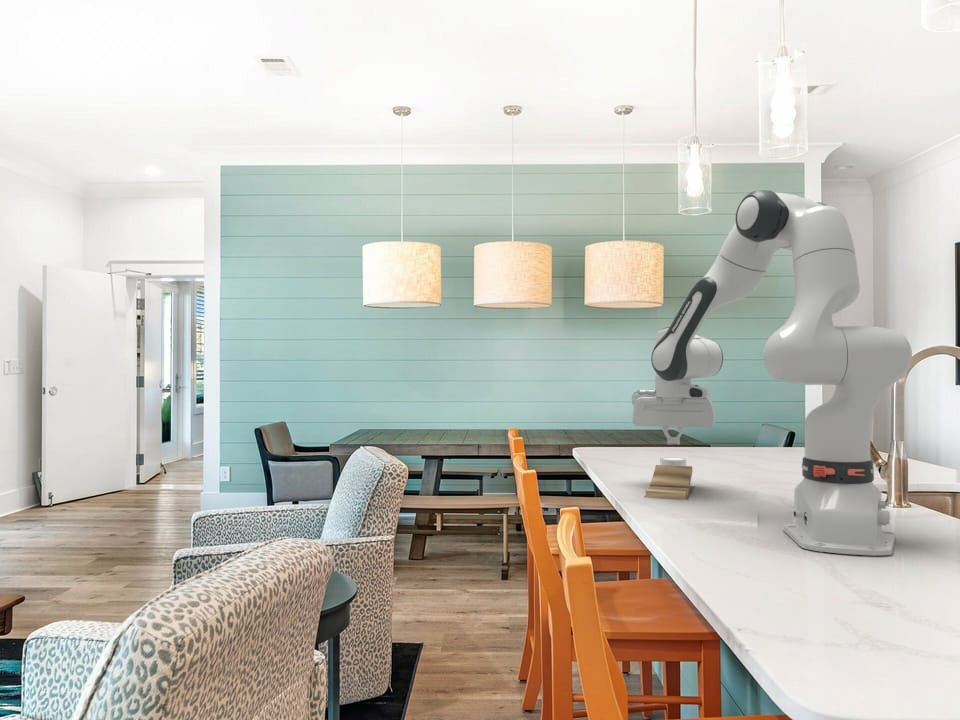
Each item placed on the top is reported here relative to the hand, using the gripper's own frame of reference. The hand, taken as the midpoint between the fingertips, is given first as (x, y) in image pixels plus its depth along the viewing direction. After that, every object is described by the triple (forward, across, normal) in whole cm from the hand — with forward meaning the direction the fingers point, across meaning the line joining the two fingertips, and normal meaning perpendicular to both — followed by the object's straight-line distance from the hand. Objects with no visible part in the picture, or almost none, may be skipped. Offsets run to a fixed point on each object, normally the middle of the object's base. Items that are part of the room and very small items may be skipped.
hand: (673, 444), depth 185 cm
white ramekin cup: (+12, -1, +8) cm, 15 cm away
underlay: (+12, 0, -8) cm, 14 cm away
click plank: (+9, 0, -4) cm, 10 cm away
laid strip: (+12, 0, -14) cm, 18 cm away
